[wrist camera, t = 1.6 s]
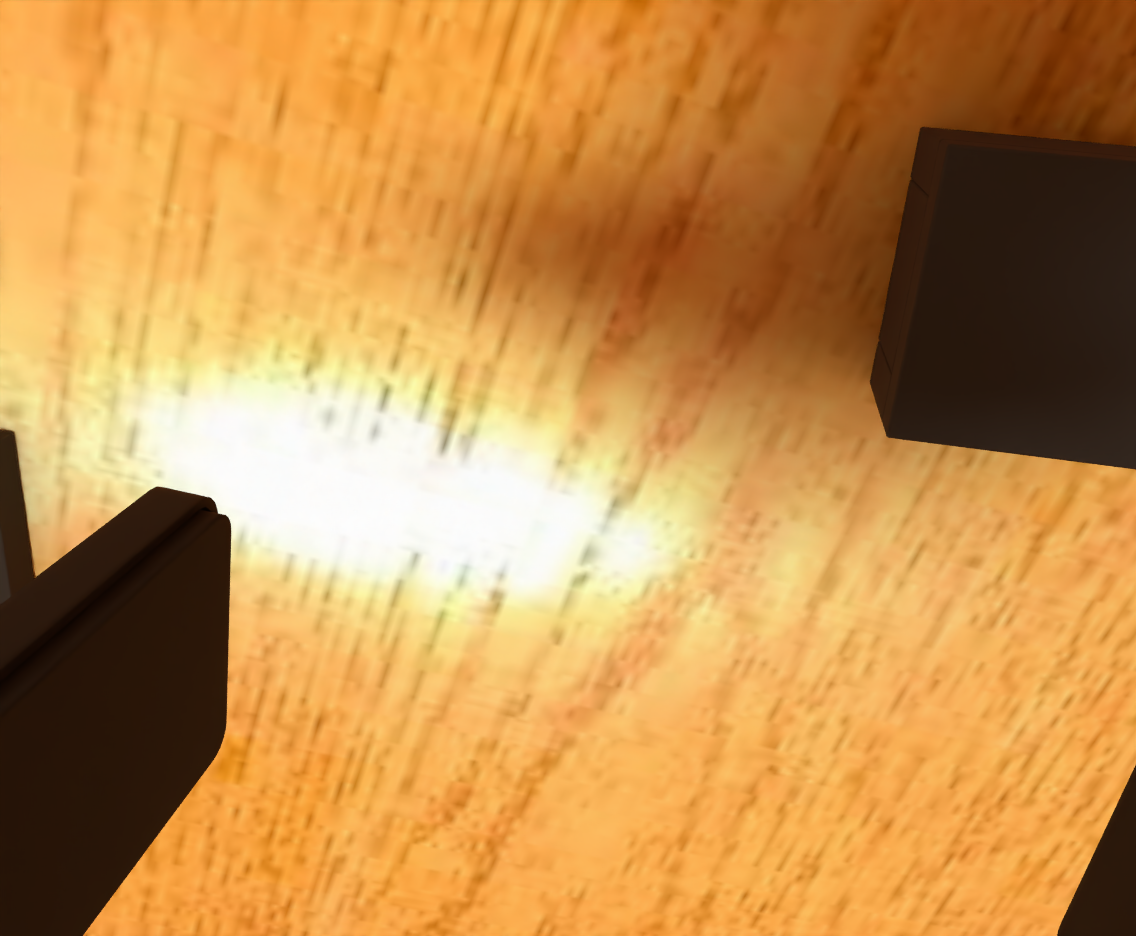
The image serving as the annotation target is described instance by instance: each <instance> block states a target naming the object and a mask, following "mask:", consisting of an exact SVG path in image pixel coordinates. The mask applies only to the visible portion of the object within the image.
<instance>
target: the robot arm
mask: <svg viewBox="0 0 1136 936" xmlns="http://www.w3.org/2000/svg"><path fill="white" fill-rule="evenodd" d="M230 559H231V523H230V520H229V518H228V517H227V516H226V515H222V514H218V511H217V507H216V504H215V502H214V501H213V500H212V499H211V498H209V497H205V496H200V495H196V494H191V493H187V492H182V491H178V490H173V489H169V488H164V487H155V488H153V489H151V490H149V491H148V492H147V493H146V494H144V495H143V496H142V497H140V498H139V499H138V500H136V501H135V502H134V503H132V504H131V505H130V506H129V507H127V508H126V509H125V510H123V511H122V512H121V513H119V514H118V515H117V516H115V517H114V518H113V519H112V520H110V521H109V522H108V523H106V524H105V525H104V526H102V527H101V528H100V529H98V530H97V531H96V532H95V533H93V534H92V535H91V536H89V537H88V538H87V539H85V540H84V541H83V542H81V543H80V544H79V545H78V546H76V547H75V548H74V549H72V550H71V551H70V552H68V553H67V554H66V555H64V556H63V557H62V558H61V559H59V560H58V561H57V562H55V563H54V564H53V565H51V566H50V567H49V568H47V569H46V570H45V571H44V572H42V573H41V574H40V575H38V576H37V577H36V578H34V579H33V580H32V581H30V582H29V583H28V584H27V585H25V586H24V587H23V588H21V589H20V590H19V591H17V592H16V593H15V594H13V595H12V596H11V597H10V598H8V599H7V600H6V601H4V602H3V603H2V604H0V936H83V935H84V933H85V932H86V931H87V929H88V928H89V927H90V925H91V924H92V923H93V921H94V920H95V919H96V917H97V916H98V915H99V913H100V912H101V910H102V909H103V908H104V906H105V905H106V904H107V902H108V901H109V900H110V898H111V897H112V896H113V894H114V893H115V892H116V890H117V889H118V888H119V886H120V885H121V884H122V882H123V881H124V880H125V878H126V877H127V876H128V874H129V873H130V872H131V870H132V869H133V867H134V866H135V865H136V863H137V862H138V861H139V859H140V858H141V857H142V855H143V854H144V853H145V851H146V850H147V849H148V847H149V846H150V845H151V843H152V842H153V841H154V839H155V838H156V837H157V835H158V834H159V833H160V831H161V830H162V829H163V827H164V826H165V824H166V823H167V822H168V820H169V819H170V818H171V816H172V815H173V814H174V812H175V811H176V810H177V808H178V807H179V806H180V804H181V803H182V802H183V800H184V799H185V798H186V796H187V795H188V794H189V792H190V791H191V790H192V788H193V787H194V786H195V784H196V783H197V781H198V780H199V779H200V777H201V776H202V775H203V773H204V772H205V771H206V769H207V768H208V767H209V765H210V764H211V763H212V761H213V760H214V758H215V757H216V755H217V753H218V751H219V749H220V747H221V744H222V741H223V738H224V734H225V730H226V718H227V679H228V639H229V599H230ZM1057 936H1136V766H1135V768H1134V770H1133V772H1132V774H1131V776H1130V778H1129V780H1128V782H1127V785H1126V787H1125V789H1124V791H1123V793H1122V795H1121V797H1120V799H1119V802H1118V804H1117V806H1116V808H1115V810H1114V812H1113V814H1112V816H1111V818H1110V821H1109V823H1108V825H1107V827H1106V829H1105V831H1104V833H1103V835H1102V838H1101V840H1100V842H1099V844H1098V846H1097V848H1096V850H1095V852H1094V854H1093V857H1092V859H1091V861H1090V863H1089V865H1088V867H1087V869H1086V871H1085V874H1084V876H1083V878H1082V880H1081V882H1080V884H1079V886H1078V888H1077V890H1076V893H1075V895H1074V897H1073V899H1072V901H1071V903H1070V905H1069V907H1068V910H1067V912H1066V914H1065V916H1064V918H1063V920H1062V922H1061V925H1060V927H1059V930H1058V934H1057Z"/></svg>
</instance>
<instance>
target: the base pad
mask: <svg viewBox="0 0 1136 936" xmlns="http://www.w3.org/2000/svg"><path fill="white" fill-rule="evenodd" d="M33 579H34V577H33V570H32V562H31V555H30V548H29V541H28V534H27V527H26V520H25V513H24V506H23V499H22V492H21V485H20V477H19V470H18V463H17V456H16V449H15V442H14V435H13V432H8V431H1V430H0V604H2V603H3V602H4V601H6V600H7V599H8V598H10V597H11V596H12V595H13V594H15V593H16V592H17V591H19V590H20V589H21V588H23V587H24V586H25V585H27V584H28V583H29V582H30V581H32V580H33Z"/></svg>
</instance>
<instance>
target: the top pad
mask: <svg viewBox="0 0 1136 936" xmlns="http://www.w3.org/2000/svg"><path fill="white" fill-rule="evenodd" d="M911 179H912V180H911V181H910V183H909V188H908V193H907V198H906V203H905V208H904V213H903V218H902V223H901V228H900V233H899V238H898V243H897V248H896V253H895V258H894V263H893V268H892V273H891V278H890V283H889V288H888V294H887V299H886V304H885V309H884V314H883V319H882V324H881V329H880V334H879V340H880V341H879V342H878V344H877V349H876V354H875V359H874V364H873V369H872V374H871V379H870V384H871V388H872V391H873V394H874V397H875V400H876V404H877V407H878V410H879V413H880V417H881V420H882V422H883V426H884V429H885V432H886V436H887V437H889V438H895V439H903V440H911V441H919V442H927V443H934V444H942V445H950V446H958V447H966V448H974V449H981V450H989V451H997V452H1005V453H1013V454H1020V455H1028V456H1036V457H1044V458H1052V459H1059V460H1067V461H1075V462H1083V463H1091V464H1098V465H1106V466H1114V467H1122V468H1130V469H1136V147H1135V146H1124V145H1113V144H1102V143H1091V142H1081V141H1070V140H1059V139H1048V138H1037V137H1027V136H1016V135H1005V134H994V133H983V132H973V131H962V130H951V129H940V128H929V127H922V128H921V129H920V132H919V137H918V143H917V148H916V153H915V158H914V163H913V168H912V173H911Z"/></svg>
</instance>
